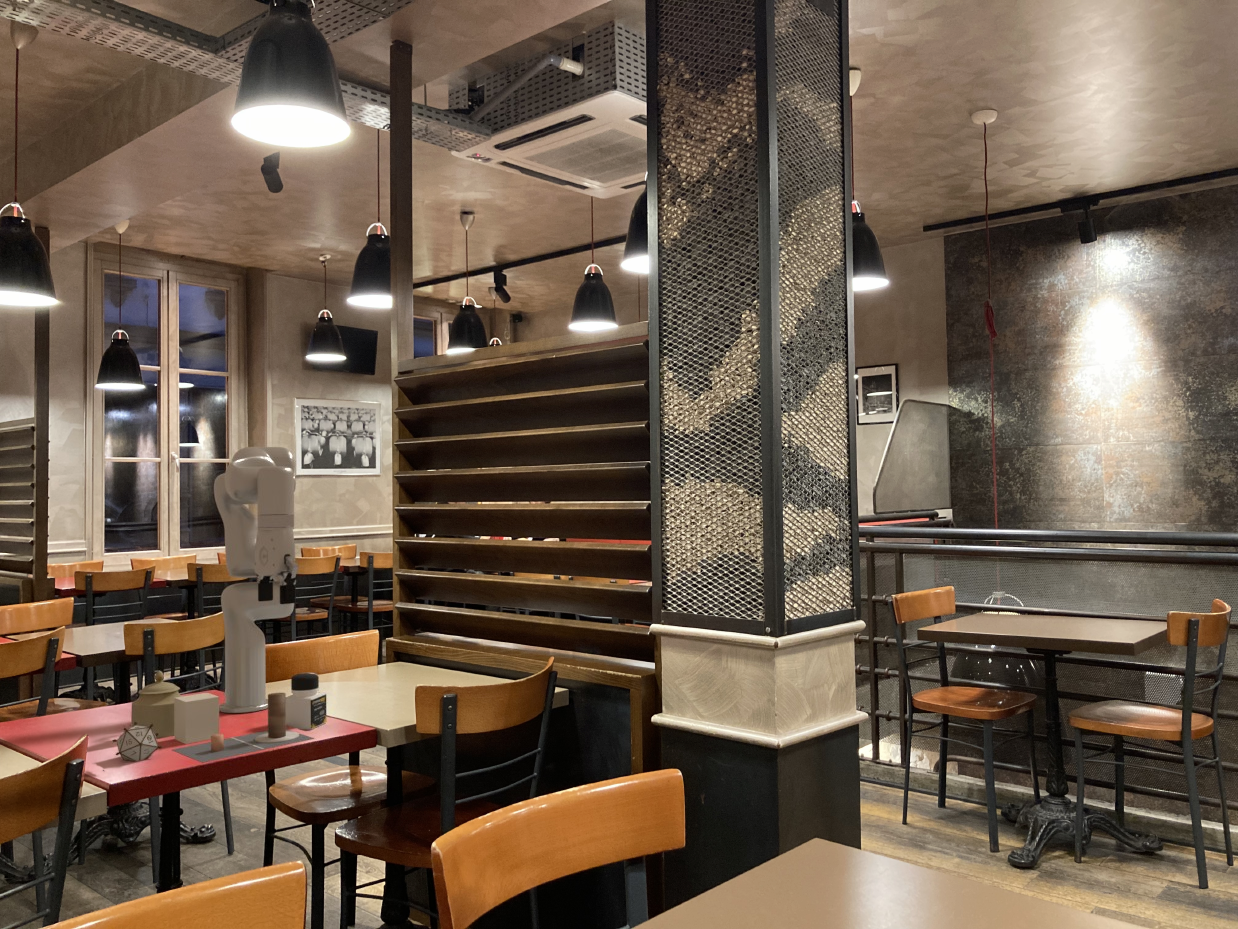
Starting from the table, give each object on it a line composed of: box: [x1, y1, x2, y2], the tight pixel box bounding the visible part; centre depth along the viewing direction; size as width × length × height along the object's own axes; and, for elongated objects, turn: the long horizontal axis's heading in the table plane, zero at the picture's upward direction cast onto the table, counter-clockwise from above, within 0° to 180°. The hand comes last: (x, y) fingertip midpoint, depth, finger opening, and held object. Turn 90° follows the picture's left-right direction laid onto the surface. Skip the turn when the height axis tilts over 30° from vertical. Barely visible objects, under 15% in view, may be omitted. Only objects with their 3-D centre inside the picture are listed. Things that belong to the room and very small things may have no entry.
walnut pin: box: [267, 692, 287, 738], centre depth 205 cm, size 4×4×9 cm
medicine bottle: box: [286, 672, 327, 731], centre depth 220 cm, size 7×7×12 cm
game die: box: [111, 721, 163, 762], centre depth 190 cm, size 9×8×10 cm
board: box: [172, 728, 316, 763], centre depth 200 cm, size 15×24×4 cm, turn 137°
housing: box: [173, 692, 220, 745], centre depth 206 cm, size 7×10×7 cm
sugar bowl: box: [130, 670, 184, 740], centre depth 212 cm, size 15×11×15 cm
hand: (276, 602), depth 205 cm, fingers open, 9 cm apart
